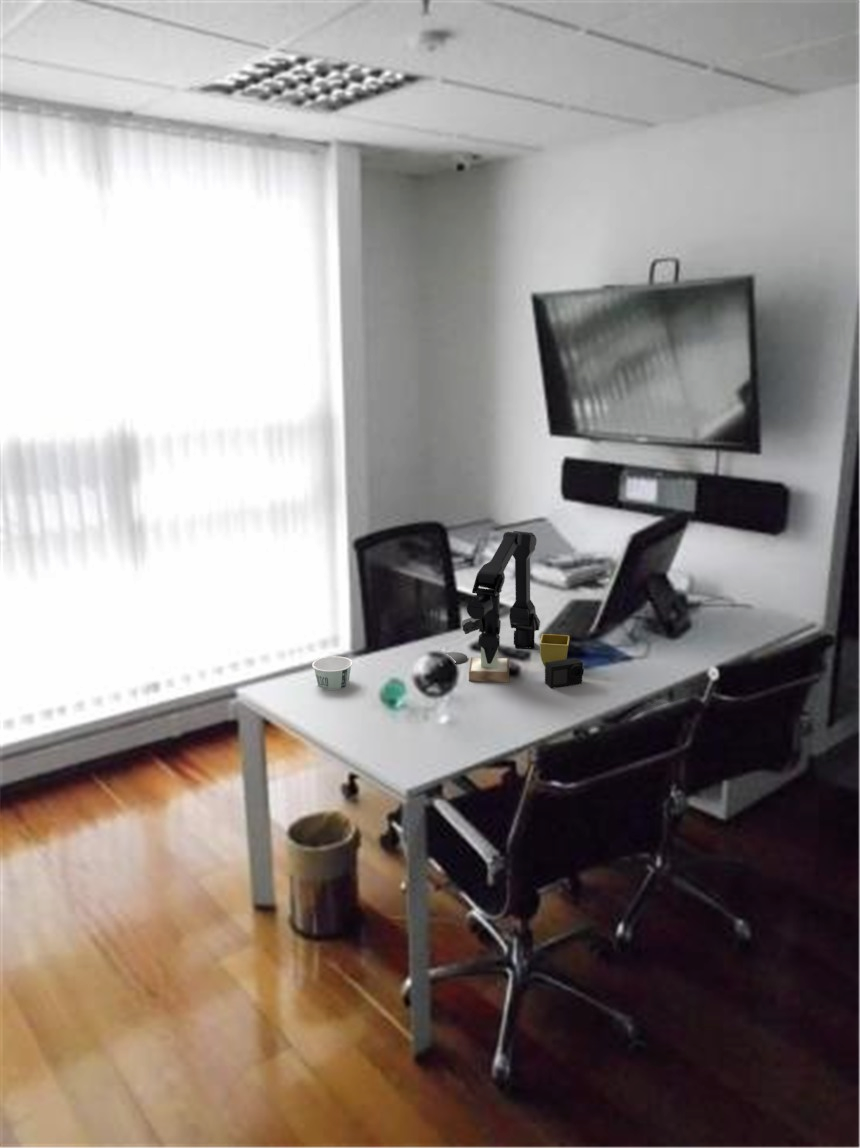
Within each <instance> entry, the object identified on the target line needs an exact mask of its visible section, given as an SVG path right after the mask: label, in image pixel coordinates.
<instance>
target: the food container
mask: <svg viewBox="0 0 860 1148" xmlns="http://www.w3.org/2000/svg"><path fill="white" fill-rule="evenodd" d="M352 666H353V660H352V659H350V658H348V657H345V656H339V655H338V656H335V655H333V656H324V657H321V658H318V659H316V660H314V661H313V662H312V664H311V667H312V668H313V669H314V673H315V677H316V681H317V686H318V687H319V688H320V689H322V690H341V689H343V688H346V687H347V686H348V685H349V683H350V675H351V669H352Z"/></svg>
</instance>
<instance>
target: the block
mask: <svg viewBox="0 0 860 1148" xmlns="http://www.w3.org/2000/svg"><path fill="white" fill-rule="evenodd" d="M480 658H481V667H492V668H497V666H498V658H499V648H498V649H497V651H496V653H495V656H494V658H493V660H492V662H491V664H488V663H487V660H486V655H485V651H484V649H483V648H482V647H480Z"/></svg>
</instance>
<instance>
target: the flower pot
mask: <svg viewBox="0 0 860 1148" xmlns="http://www.w3.org/2000/svg"><path fill="white" fill-rule="evenodd" d="M570 638H571V637H570V635H569V634H568V635H567V634H566V635H565V634H554V633H553V634H551V633H549V634H548V633H542V634H541V638H540V641H539V652H540V659H541V662H542V665H543V666H544V667H545V662H551V661H558V660H565V659H567V658H568V653H569V652H568V651H569V644H570Z"/></svg>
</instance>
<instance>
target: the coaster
mask: <svg viewBox="0 0 860 1148" xmlns="http://www.w3.org/2000/svg"><path fill="white" fill-rule="evenodd" d="M444 653H445V654H448V655H449V656H451V657H452V658H453V659H454V660H455V661H456V663H457V664H456V665H458V664H463V663H465V662H467V661H468V656H467V654H465V653H462V652H457V651H450V652H444Z"/></svg>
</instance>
